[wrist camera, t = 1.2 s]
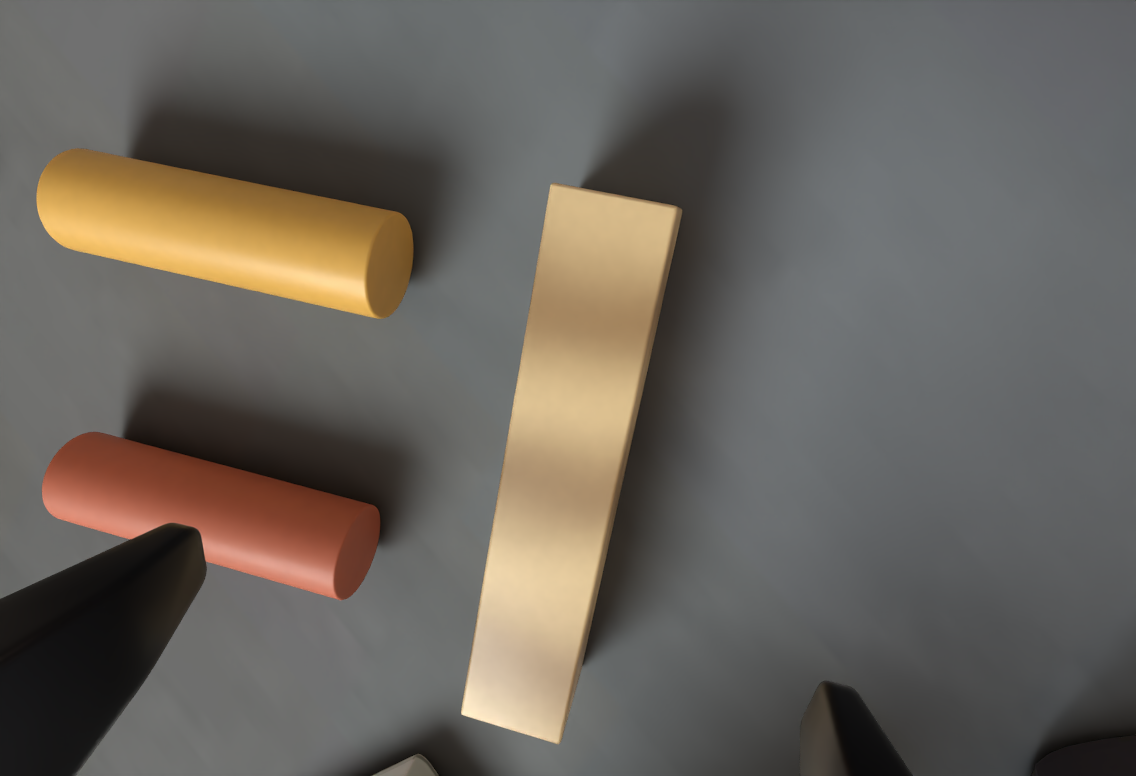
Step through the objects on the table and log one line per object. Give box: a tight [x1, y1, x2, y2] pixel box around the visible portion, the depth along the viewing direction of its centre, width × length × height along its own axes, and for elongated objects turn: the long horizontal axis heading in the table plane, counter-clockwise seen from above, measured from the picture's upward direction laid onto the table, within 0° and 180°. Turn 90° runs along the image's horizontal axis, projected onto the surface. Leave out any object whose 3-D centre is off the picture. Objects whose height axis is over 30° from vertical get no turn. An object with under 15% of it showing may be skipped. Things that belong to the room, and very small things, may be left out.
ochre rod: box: [37, 148, 413, 319], centre depth 20 cm, size 3×10×3 cm, turn 80°
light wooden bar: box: [461, 183, 682, 744], centre depth 20 cm, size 15×3×4 cm, turn 170°
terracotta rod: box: [42, 432, 380, 600], centre depth 23 cm, size 3×10×3 cm, turn 80°
